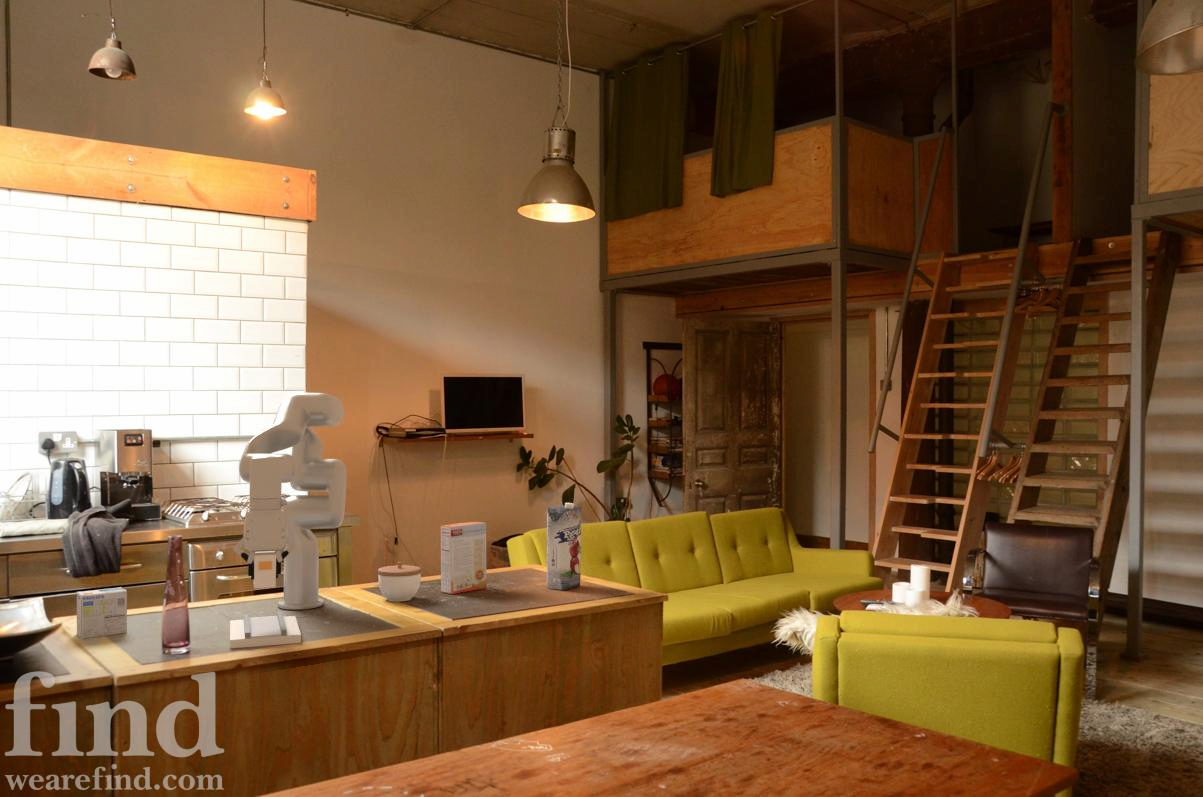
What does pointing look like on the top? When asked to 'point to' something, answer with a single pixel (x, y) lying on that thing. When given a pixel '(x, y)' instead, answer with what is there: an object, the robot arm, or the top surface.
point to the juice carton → (563, 547)
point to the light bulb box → (101, 612)
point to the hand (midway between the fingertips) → (264, 577)
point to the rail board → (264, 631)
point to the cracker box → (463, 557)
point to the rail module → (265, 569)
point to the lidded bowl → (399, 581)
